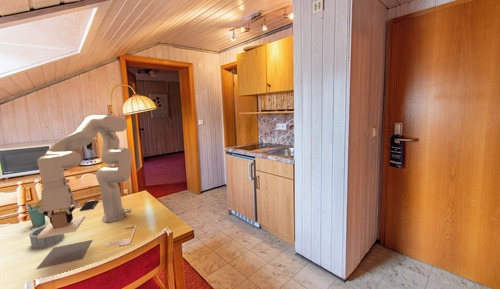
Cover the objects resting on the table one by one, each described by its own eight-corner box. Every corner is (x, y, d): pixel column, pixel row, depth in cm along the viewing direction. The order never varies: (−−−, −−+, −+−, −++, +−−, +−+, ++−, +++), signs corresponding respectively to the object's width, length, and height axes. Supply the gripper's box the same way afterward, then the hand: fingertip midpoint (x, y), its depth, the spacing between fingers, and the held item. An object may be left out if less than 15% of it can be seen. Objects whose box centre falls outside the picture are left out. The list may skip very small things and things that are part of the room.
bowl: (67, 233, 122) (65, 222, 121) (58, 245, 110) (55, 233, 109) (39, 238, 118) (37, 226, 116) (26, 252, 106) (23, 239, 105)
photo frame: (94, 249, 105) (106, 230, 122) (95, 252, 105) (106, 232, 122) (129, 243, 109) (136, 225, 126) (130, 245, 109) (136, 227, 126)
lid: (85, 217, 110) (82, 203, 109) (75, 231, 98) (72, 215, 97) (52, 223, 106) (48, 209, 104) (37, 238, 94) (33, 222, 92)
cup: (37, 231, 125) (31, 205, 123) (20, 233, 124) (15, 207, 122) (54, 219, 139) (49, 195, 137) (39, 220, 138) (34, 197, 135)
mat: (93, 240, 114) (93, 239, 114) (82, 260, 99) (82, 259, 99) (53, 248, 108) (53, 247, 108) (36, 270, 93) (35, 269, 93)
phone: (98, 199, 165) (93, 207, 151) (98, 201, 165) (93, 209, 151) (85, 201, 162) (79, 210, 148) (85, 203, 162) (79, 211, 149)
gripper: (80, 178, 105) (87, 215, 108) (34, 184, 99) (42, 223, 102) (74, 183, 98) (82, 222, 101) (24, 190, 92) (33, 231, 95)
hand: (62, 222), depth 101 cm, fingers closed on lid, 4 cm apart
